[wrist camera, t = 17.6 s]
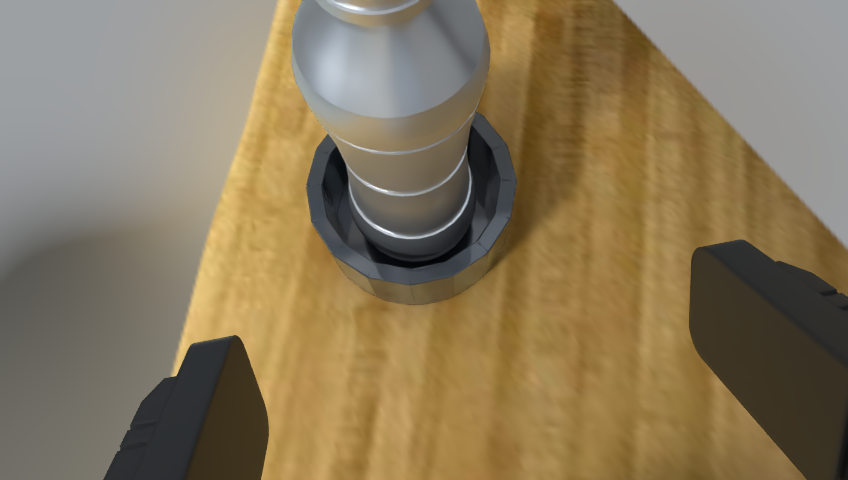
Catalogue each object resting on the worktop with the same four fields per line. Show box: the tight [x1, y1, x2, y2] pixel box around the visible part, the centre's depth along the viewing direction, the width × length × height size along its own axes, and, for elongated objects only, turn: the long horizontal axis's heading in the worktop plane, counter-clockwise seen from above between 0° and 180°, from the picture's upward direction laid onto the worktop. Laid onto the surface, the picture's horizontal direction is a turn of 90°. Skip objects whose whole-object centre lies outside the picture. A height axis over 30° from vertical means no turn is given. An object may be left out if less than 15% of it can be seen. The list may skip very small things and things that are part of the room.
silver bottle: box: [291, 0, 490, 262], centre depth 24 cm, size 6×7×20 cm
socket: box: [306, 112, 517, 305], centre depth 31 cm, size 10×10×4 cm
